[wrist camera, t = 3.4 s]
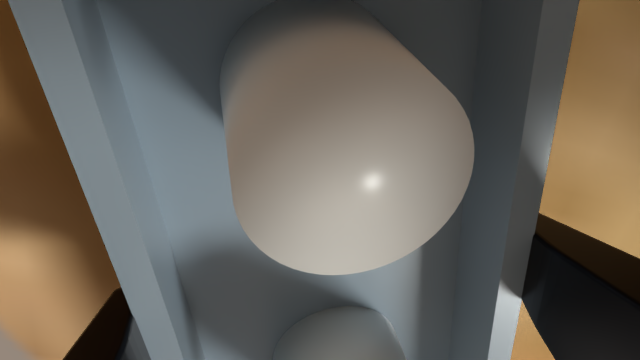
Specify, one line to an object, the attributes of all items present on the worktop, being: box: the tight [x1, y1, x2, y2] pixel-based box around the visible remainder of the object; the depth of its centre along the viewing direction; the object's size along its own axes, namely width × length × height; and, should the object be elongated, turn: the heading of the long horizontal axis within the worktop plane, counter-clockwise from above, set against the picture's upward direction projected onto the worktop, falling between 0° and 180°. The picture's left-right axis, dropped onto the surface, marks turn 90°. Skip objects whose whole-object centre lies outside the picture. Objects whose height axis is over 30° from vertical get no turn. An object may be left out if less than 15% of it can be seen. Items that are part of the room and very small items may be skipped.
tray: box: [8, 0, 579, 360], centre depth 9 cm, size 12×6×3 cm, turn 4°
